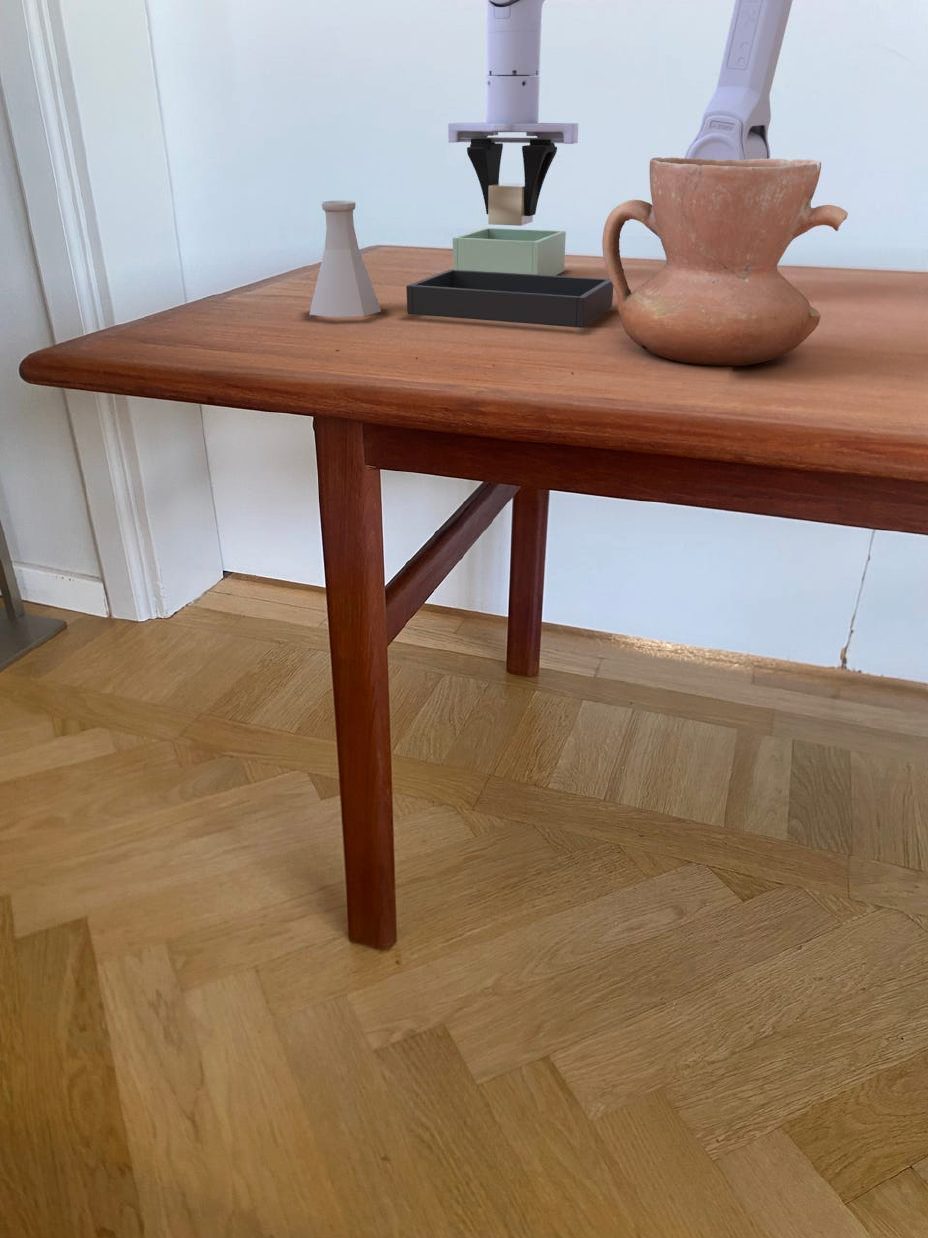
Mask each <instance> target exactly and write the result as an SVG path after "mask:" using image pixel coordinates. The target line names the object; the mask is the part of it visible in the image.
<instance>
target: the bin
mask: <svg viewBox="0 0 928 1238" xmlns="http://www.w3.org/2000/svg"><path fill="white" fill-rule="evenodd" d="M566 234H567V231H566V230H549V229H525V228H524V229H523V228H522V229H521V228H504V227H503V228H501V227H499V228H498V227H484V228H481V229H478V230H474V231H470V232H468V233H467V232H466V233H464V234H462V235H458V236H455V237H452V270H468V271H484V272H501V273H517V274H534V275H550V276H559V274H561V273H564V272H565V261H566V260H565V255H566V236H567V235H566Z"/></svg>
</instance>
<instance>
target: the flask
mask: <svg viewBox="0 0 928 1238" xmlns="http://www.w3.org/2000/svg"><path fill="white" fill-rule="evenodd" d="M356 205H357V204H356V201H354V200H326V201H322V202H321V208H322V210H323V211H324V214H325V226H326V227H325V228H326V230H325V240H324V249H323V254H322V258H321V264H320V267H319V271H318V277H317V281H316V283H315V284H316V285H315V288H314V292H313V295H312V296H313V297H312V300H311V305H310V309H309V316H318V317H327V318H361V317H363V318H364V317H367V316H371V315H373V314H376V313H380V312H382V308H381V305H380V302H379V299H378V296H377V294H376V292H375V291H376V290H375V289H374V286H373V283H372V281H371V279H370V276H369V273H368V271H367V267H366V265H365V262H364V258H363V256H362V253H361V250H360V248H359V244H358V239H357V234H356V229H355V223H354V210H356Z"/></svg>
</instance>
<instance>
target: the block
mask: <svg viewBox="0 0 928 1238" xmlns="http://www.w3.org/2000/svg"><path fill="white" fill-rule="evenodd" d="M524 190H525V183H516V182H499V184H494V185H490V186H489V199H488V214H487V215H488V216H487V218H488V220H487V225H493V226H495V225H498V226H499V225H500V226H516V227H517V226H518V227H521V226H524V225H527V224H530V223H533V221H534V219H533V218H534V215H532V216H525V215H524Z"/></svg>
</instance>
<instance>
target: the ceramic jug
mask: <svg viewBox="0 0 928 1238" xmlns="http://www.w3.org/2000/svg"><path fill="white" fill-rule="evenodd" d="M821 171H822V161H820V160H815V159H799V158H798V159H797V158H796V159H791V160H788V159H784V158H770V159H747V160H738V161H736V160H731V159H729V160H713V159H687V158H684V157H682V158H681V157H660V156H659V157H652V158H651V159H650V160H649V190H650V197H651V198H650V199H651V203H650V202H648V201H644V200H642V199H631V200H627V201H624V202H622V203H620V204H618V205H616V206H615V207H614V208H613V209H612V210H611V212H610V213H609V215H608V216H607V217H606V220H605V223H604V226H603V232H602V238H601V239H602V240H601V241H602V242H601V243H602V245H601V247H602V256H603V261H604V266H605V269H606V272H607V274H608V277H609V279H610V280H611V282H612V284H613V290H614V291H615V294H616V298H617V303H616V304H617V311H618V314H619V316H620V318H621V323H622V327H623V329H624V332H625V333H626V335H627V336H628V337H629V338H630V339H631V341H632V342H633V343H635V344H636V345H638V346H639V347H640V348H642V349H644V350H645V351H648V352H650V353H651V354H653V355H655V356H658V357H661V358H664V359H667V360H670V361H674V362H679V363H684V364H689V365H698V366H699V365H700V366H711V367H712V366H713V367H714V366H715V367H743V366H750V365H755V364H760V363H764V362H767V361H771V360H774V359H777V358H780V357H783V356H784V355H786V354H788V353H790V352H791V351H793V350H795V349H796V348H797V347H798V346H800V345H801V344H802V343H803V342H804V341H805V340H807V338H808V337H809V336H810V335H811V334H812V333H813V332H814V331H815V330H817V329H816V328H817V327H818V326H819V323H820V320H821V317H822V314H821V313H820V312H819V311H818V310H817V309H816V308H815V307H812V306H811V304H810V302H809V299H808V298H806V296H804V294H803V293H802V292H801V291H800V290H799V289H797V288H796V286H794V285H793V284H792V283H791V282H790V281H788V280H787V278H786V277H785V276H784V275H783V274H782V273H780V271H779V270H778V264H779V262H780V261H781V259H782V257H783V256H784V254H785V252H786V251H787V249H788V247H789V246H790V244H791V243H792V242H793V241H794V240H795V239H796V238H798V237H799V236H801V235H803V234H805V233H807V232H808V231H810V230H812V229H813V228H815V227H820V226H827V227H830V228H833V230H834V231H835V232H838V231H839V229H840V226H841V225H842V223H844V222H845V220H847V218H848V215H849V212H848V211H847V210H845V209H844V208H842V207H840V206H837V205H833V204H823V205H819V206H815V207H812V206H811V205H812V204H811V203H812V200H813V197H814V196H815V192H816V189H817V187H818V183H819V179H820V176H821ZM630 220H634V221H637V222H640V223H642V224H643V225H644V226H645V227H646V228H647V229H648V230H649V231H651V232H652V233H653V234H654V235H655V236H657V237H658V238H659V240H660V242H661V247H662V249H663V252H664V255H665V259H666V263H665V265H664V266H663V267H662V268H661V269H660V270H659V271H658V272H657V273H655V275H653V276H652V277H651V278H649V279H648V280H647V281H645V282H644V283H642V284H641V285H640V286H639V285H638V287H637V288H636V289H634V290H633V291H632V290H631V288H630V287H629V284H628V280H627V278H626V276H625V269H624V268H623V264H622V260H621V251H620V239H621V232H622V229H623V227H624V226H625V223H626V222H628V221H630Z"/></svg>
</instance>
